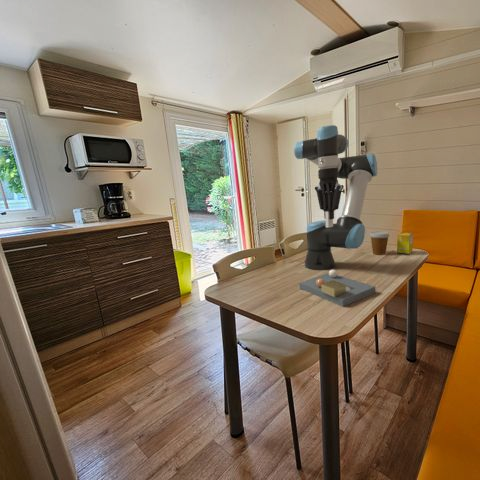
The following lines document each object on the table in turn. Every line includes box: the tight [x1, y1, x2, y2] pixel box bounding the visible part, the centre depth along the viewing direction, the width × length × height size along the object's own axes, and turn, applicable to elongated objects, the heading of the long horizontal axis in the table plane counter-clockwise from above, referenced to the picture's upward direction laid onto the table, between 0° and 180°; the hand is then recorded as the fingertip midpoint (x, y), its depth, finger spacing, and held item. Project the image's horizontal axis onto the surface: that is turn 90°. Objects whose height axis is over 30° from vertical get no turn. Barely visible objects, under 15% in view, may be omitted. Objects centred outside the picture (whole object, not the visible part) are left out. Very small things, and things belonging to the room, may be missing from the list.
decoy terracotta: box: [316, 279, 325, 287], centre depth 103 cm, size 3×3×3 cm
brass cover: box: [321, 280, 346, 297], centre depth 97 cm, size 6×6×3 cm
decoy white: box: [328, 269, 338, 278], centre depth 112 cm, size 3×3×3 cm
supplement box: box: [396, 232, 414, 256], centre depth 143 cm, size 6×6×11 cm
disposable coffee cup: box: [369, 230, 390, 256], centre depth 147 cm, size 10×10×12 cm
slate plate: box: [298, 272, 376, 307], centre depth 105 cm, size 22×18×2 cm
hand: (329, 226), depth 108 cm, fingers closed
